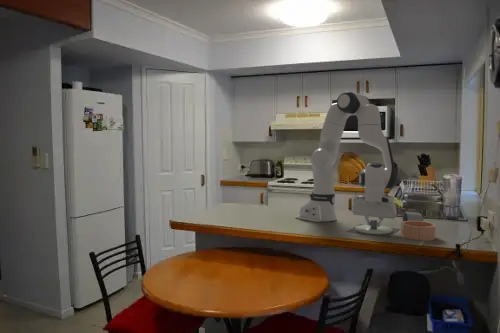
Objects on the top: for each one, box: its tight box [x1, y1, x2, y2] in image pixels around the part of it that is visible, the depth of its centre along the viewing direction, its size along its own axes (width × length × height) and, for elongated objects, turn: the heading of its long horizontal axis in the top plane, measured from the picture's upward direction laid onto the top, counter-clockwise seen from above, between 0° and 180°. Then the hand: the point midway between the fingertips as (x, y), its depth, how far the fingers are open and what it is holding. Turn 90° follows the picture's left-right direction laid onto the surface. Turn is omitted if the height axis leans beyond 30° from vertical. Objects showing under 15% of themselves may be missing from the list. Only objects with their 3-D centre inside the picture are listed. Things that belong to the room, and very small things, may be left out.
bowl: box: [400, 220, 437, 242], centre depth 185 cm, size 14×14×6 cm
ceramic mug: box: [402, 211, 424, 222], centre depth 207 cm, size 11×8×8 cm
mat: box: [345, 224, 401, 239], centre depth 196 cm, size 20×20×1 cm
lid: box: [354, 219, 393, 235], centre depth 196 cm, size 17×17×5 cm
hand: (373, 226), depth 196 cm, fingers closed on lid, 3 cm apart
